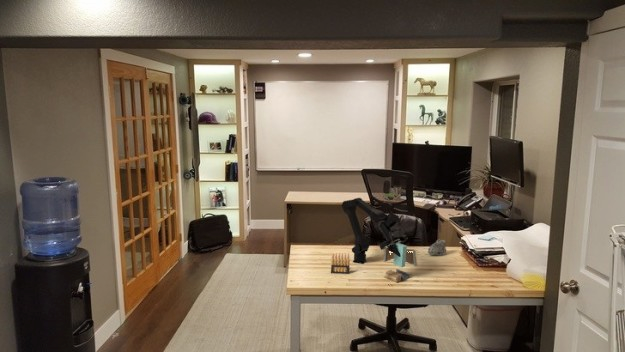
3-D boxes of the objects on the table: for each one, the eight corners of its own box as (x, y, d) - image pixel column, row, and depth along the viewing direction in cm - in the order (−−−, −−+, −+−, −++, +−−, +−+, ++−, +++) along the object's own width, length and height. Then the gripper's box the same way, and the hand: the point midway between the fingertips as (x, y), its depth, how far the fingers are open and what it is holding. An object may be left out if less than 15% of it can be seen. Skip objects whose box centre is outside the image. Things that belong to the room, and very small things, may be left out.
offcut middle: (384, 275, 239) (384, 273, 239) (389, 273, 242) (389, 271, 242) (396, 279, 233) (396, 277, 233) (400, 278, 236) (401, 275, 236)
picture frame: (383, 262, 262) (385, 245, 291) (383, 264, 262) (385, 248, 291) (415, 264, 258) (414, 248, 287) (415, 267, 258) (414, 250, 287)
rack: (383, 278, 240) (383, 273, 239) (396, 273, 247) (396, 268, 246) (397, 284, 232) (397, 279, 232) (410, 279, 239) (411, 274, 239)
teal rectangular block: (393, 264, 242) (394, 243, 240) (396, 263, 244) (398, 242, 241) (401, 267, 237) (403, 246, 235) (405, 266, 239) (406, 245, 237)
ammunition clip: (349, 272, 248) (350, 253, 246) (349, 274, 246) (350, 254, 244) (330, 272, 249) (331, 252, 246) (330, 273, 247) (331, 253, 245)
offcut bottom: (385, 277, 239) (385, 275, 239) (390, 275, 242) (390, 273, 241) (396, 282, 233) (396, 280, 233) (401, 280, 236) (401, 278, 235)
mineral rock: (428, 256, 274) (429, 241, 272) (424, 251, 285) (425, 236, 283) (448, 257, 274) (449, 242, 272) (444, 251, 284) (445, 236, 282)
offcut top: (385, 273, 238) (386, 271, 238) (390, 271, 241) (390, 269, 241) (397, 278, 232) (397, 276, 232) (402, 276, 235) (402, 274, 235)
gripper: (384, 227, 233) (399, 252, 227) (406, 221, 245) (421, 245, 239) (373, 237, 241) (387, 262, 234) (394, 231, 252) (409, 254, 246)
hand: (401, 255), depth 238 cm, fingers closed on teal rectangular block, 3 cm apart
